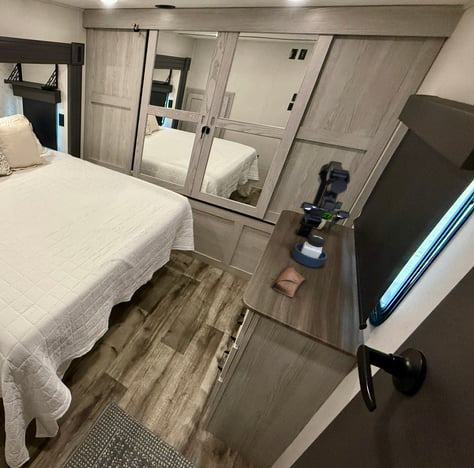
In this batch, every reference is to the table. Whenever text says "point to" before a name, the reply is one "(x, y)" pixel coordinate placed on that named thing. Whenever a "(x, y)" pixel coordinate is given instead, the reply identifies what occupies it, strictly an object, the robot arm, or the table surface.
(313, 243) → the medicine bottle
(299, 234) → the robot arm
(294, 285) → the sunglasses case
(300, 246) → the blue round bowl
